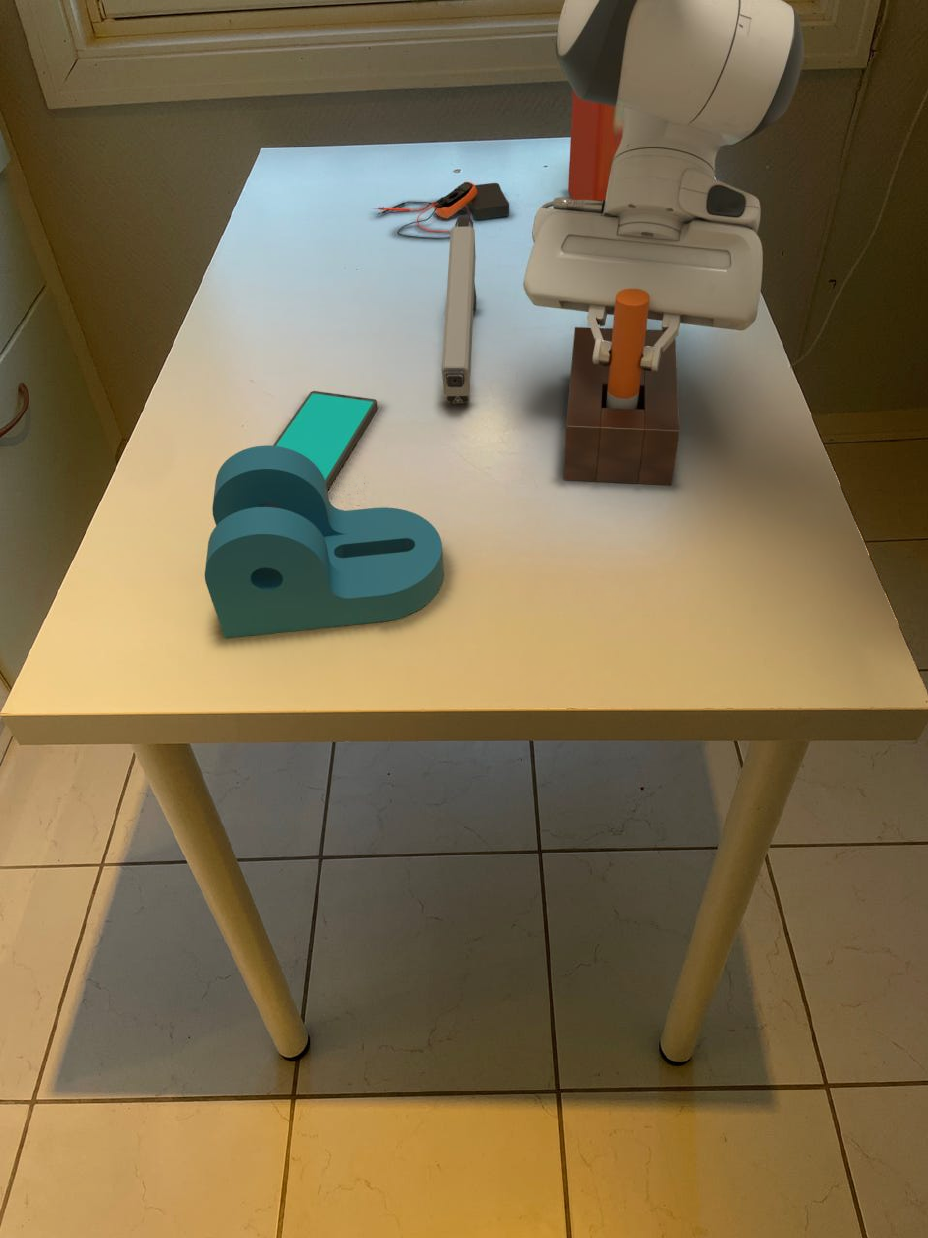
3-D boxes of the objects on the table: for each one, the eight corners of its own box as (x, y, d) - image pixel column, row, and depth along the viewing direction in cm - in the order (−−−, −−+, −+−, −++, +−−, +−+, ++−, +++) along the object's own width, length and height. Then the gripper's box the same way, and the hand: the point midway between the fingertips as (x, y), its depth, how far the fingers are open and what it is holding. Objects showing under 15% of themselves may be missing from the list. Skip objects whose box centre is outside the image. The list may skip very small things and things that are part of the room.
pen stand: (667, 382, 96) (675, 329, 91) (671, 485, 84) (679, 431, 80) (572, 379, 97) (574, 326, 92) (563, 480, 86) (565, 426, 81)
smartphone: (377, 399, 94) (320, 492, 84) (378, 406, 94) (322, 499, 85) (310, 390, 95) (247, 479, 86) (312, 397, 96) (249, 487, 86)
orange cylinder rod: (633, 427, 88) (649, 288, 78) (633, 445, 86) (650, 305, 76) (603, 425, 88) (616, 287, 78) (603, 443, 86) (615, 304, 76)
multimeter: (375, 244, 119) (372, 218, 116) (371, 204, 127) (368, 179, 124) (514, 232, 120) (514, 206, 117) (502, 193, 128) (502, 168, 125)
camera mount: (224, 638, 74) (191, 540, 66) (233, 548, 81) (203, 451, 73) (449, 614, 75) (442, 515, 67) (438, 527, 82) (430, 429, 74)
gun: (478, 276, 110) (475, 201, 101) (471, 441, 97) (467, 372, 89) (457, 276, 110) (452, 201, 101) (447, 441, 97) (440, 372, 89)
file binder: (626, 188, 127) (651, -103, 104) (652, 246, 116) (687, -67, 92) (567, 192, 127) (579, -99, 104) (588, 250, 116) (607, -62, 92)
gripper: (533, 179, 79) (503, 342, 80) (780, 201, 75) (745, 373, 76) (544, 209, 85) (516, 359, 86) (773, 231, 81) (741, 390, 82)
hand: (625, 366), depth 81 cm, fingers closed on orange cylinder rod, 3 cm apart
